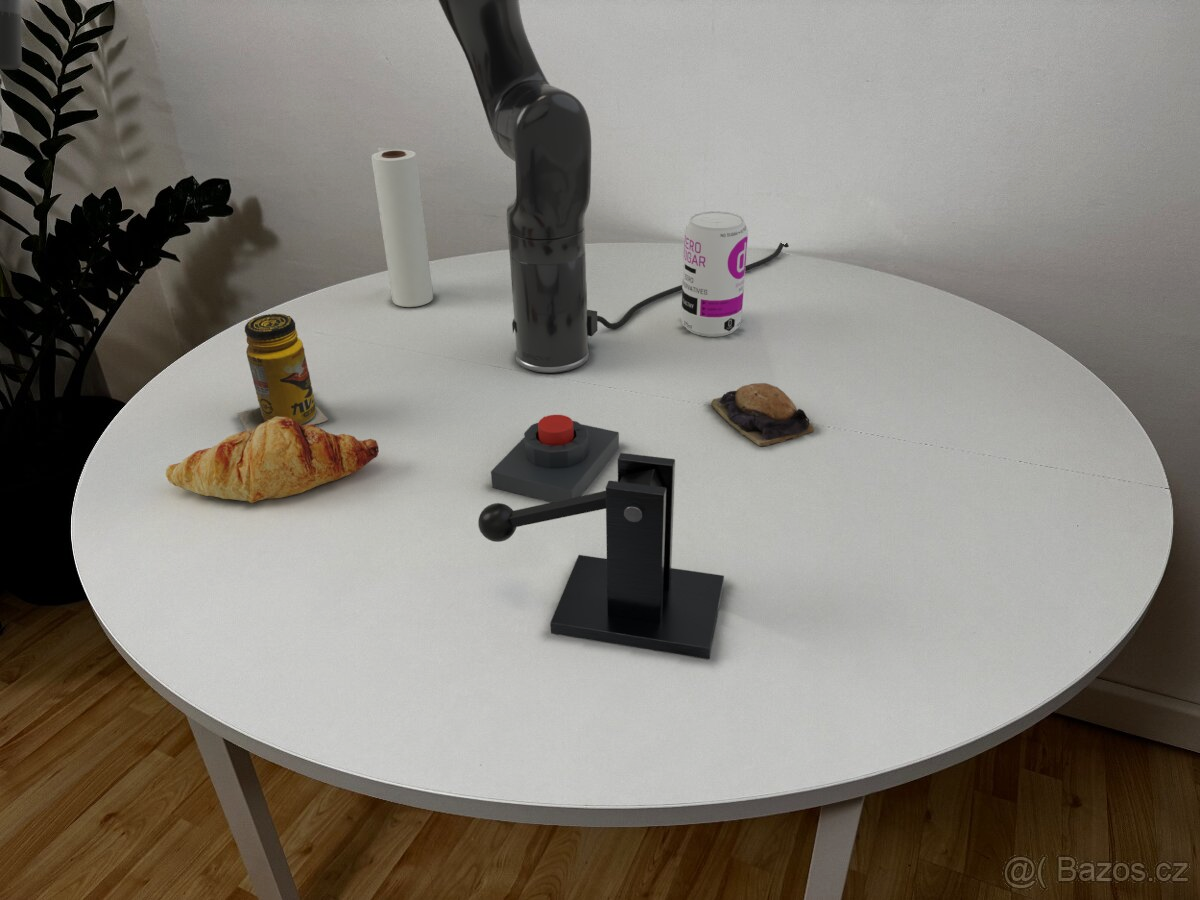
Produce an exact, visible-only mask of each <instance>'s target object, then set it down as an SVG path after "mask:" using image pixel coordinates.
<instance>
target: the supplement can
mask: <svg viewBox="0 0 1200 900" xmlns="http://www.w3.org/2000/svg"><path fill="white" fill-rule="evenodd" d="M683 233H684V234H683V258H682V259H683V261H682V284H681V285H682V290H681V313H680V314H681V315H680V322H681V323H682V326H683V327H685V328H686V330H687V331H689V332H690V333H692V334H695V335H697V336H701V337H709V338H714V337H715V338H717V337H725V336H728V335H731V334H733V333H734V332H735V331H736V330H737V329H738V328H740V327H741V325H742V317H743V316H742V315H743V305H744V304H743V302H744V290H745V279H746V271H745V266H747V265H746V263H747V252H748V237H749V229H748V228H747V225H746V223H745V219H744V218H743V216H742V215H739V214H737V213H735V212H729V211H720V210H713V211H712V210H710V211H702V212H698V213H694V214H693V215H691V216H690V218H689V222H688V223H687V224H686V226H685V229H684V232H683Z"/></svg>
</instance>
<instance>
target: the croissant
mask: <svg viewBox="0 0 1200 900" xmlns="http://www.w3.org/2000/svg"><path fill="white" fill-rule="evenodd" d="M379 451H380V450H379V445H378V442H377V440H375V439H372V438H368V439H363V440H362V439H361V440H358V439H357V438H356V437H355V436H354V435H351V434H345V433H341V434H334V433H332V432H331V433H330V432H327V431H326V430H324V429H323V428H320V427H318V426H317V427H316V424H315V425H314V424H311V425H299V423H298V422H296V421H294V420H292V419H291V418H289V417H278V416H277V417H274V418H272V419H270V420H268V421H266V422H264V423H261V424H260V425H259V426H258V427H257V428H256V429H254V430H250V431H246V430H243V431H241V432H237V433H235V434H232V435H229V436H227V437H225V438H223V440H221V441H220V442H219V443H218V444H216V445H214V446H213V445H212V447H207V448H204V449H199V450H196V451H194V452H193V453H192V454H191V455H189V456H187V457H185V458H184V459H182V461H181V462H178V463H174V464H170V465H168V467H167V469H166V470H165V477H166V479H167V481H168V482H169V483H170V484H171V485H173V486H175V487H179V488H181V489H183V490H188V491H191V492H193V493H195V494H198V495H202V496H205V497H208V496H209V497H216V498H220V499H223V500H236V501H242V502H249V503H250V504H253V503H256V502H259V501H262V500H265V499H281V498H287V497H291V496H294V495H298V494H302V493H304V492H306V491H309V490H311V489H313V488H316V487H318V486H321V485H324V484H327V483H329V482H334V481H337V480H340V479H342V478H344V477H347V476H350V475H351V474H354V473H356V472H358V471H360V470H361V469H363V468H364V467H365V466H366V465H367V464H369V463H370V462H371V461H373V460H374V459H375V458H377V457H378V455H379Z"/></svg>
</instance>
